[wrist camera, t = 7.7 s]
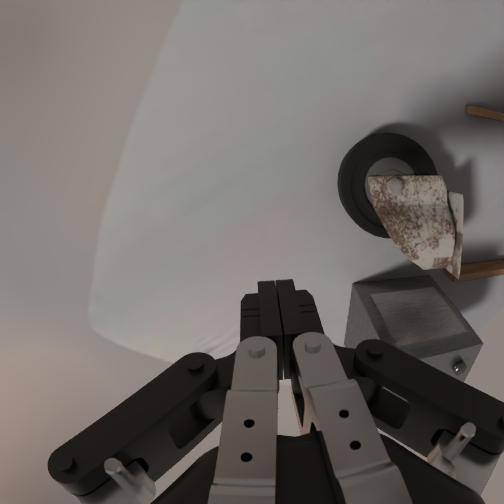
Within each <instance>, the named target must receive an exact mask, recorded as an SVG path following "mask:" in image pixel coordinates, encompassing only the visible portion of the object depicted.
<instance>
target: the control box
mask: <svg viewBox="0 0 504 504" xmlns="http://www.w3.org/2000/svg"><path fill="white" fill-rule="evenodd" d="M367 339H378V340H382V341H384V342H386V343H388V344H390V345H392V346H394V347H396V348H398V349H400V350H402V351H404V352H406V353H407V354H409V355H411V356H413V357H415V358H417V359H419V360H421V361H423V362H425V363H427V364H429V365H431V366H433V367H434V368H436V369H438V370H440V371H442V372H444V373H446V374H448V375H450V376H452V377H454V378H456V379H458V380H460V381H462V382H464V381H465V379H466V377H467V375H468V373H469V371H470V369H471V367H472V365H473V363H474V362H475V360H476V358H477V355H478V353H479V351H480V349H481V347H482V345H483V342H482V341H481V339H480V338H479V337H478V335H477V334H476V333H475V331H474V330H473V329H472V327H471V326H470V325H469V323H468V322H467V321H466V319H465V318H464V317H463V316H462V314H461V313H460V312H459V311H458V309H457V308H456V307H455V305H454V304H453V303H452V302H451V300H450V299H449V298H448V297H447V296H446V294H445V293H444V292H443V291H442V290H441V288H440V287H439V286H438V285H437V284H436V282H435V281H434V280H433V279H432V278H431V276H422V277H413V278H404V279H394V280H384V281H373V282H363V283H353V284H352V292H351V300H350V307H349V314H348V321H347V328H346V334H345V341H344V345H345V348H354V349H356V347H357V345H358V344H359V343H360V342H362V341H364V340H367ZM384 389H386V388H385V387H384ZM386 390H388V389H386ZM388 391H389V392H391V393H393V392H392V391H390V390H388ZM393 394H394V395H396V396H398V395H397V394H395V393H393ZM398 397H400V396H398ZM400 398H401V399H403V400H405V399H404V398H402V397H400ZM405 401H407V400H405ZM407 402H408V401H407Z"/></svg>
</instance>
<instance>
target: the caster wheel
mask: <svg viewBox="0 0 504 504" xmlns="http://www.w3.org/2000/svg"><path fill="white" fill-rule="evenodd" d="M338 192H339V197H340V200H341V203H342V205H343V206H344V208H345V210H346V212H347V213H348V214H349V216H350V217H351V218H352V219H353V221H354V222H355V223H356V224H357V225H358V226H360V227H361V228H362V229H364V230H365V231H367V232H369V233H371V234H372V235H374V236H378V237H382V238H388V239H389V240H390V241H391V242H393V243H394V244H395V245H396V246H398V248H399V249H400V250H401V251H402V252H403V253H404V254H405V255H406V256H407V257H408V258H409V259H410V260H411V261H413V262H414V263H415V264H417V265H418V266H419V267H420V268H422V269H423V270H428V269H440V268H445V269H447V270H448V271H449V272H450V273H451V274H453V275H454V276H455V277H456V278H457V279H459V276H460V266H461V254H462V238H463V204H464V199H463V194H459V193H455V192H451V191H447V189H446V184H445V182H444V180H443V178H442V176H441V175H437V171H436V169H435V166H434V163H433V161H432V159H431V158H430V156H429V155H428V153H427V152H426V151H425V150H424V149H423V148H422V147H421V146H420V145H419V144H418V143H416V142H415V141H414V140H412V139H410V138H408V137H406V136H403V135H399V134H394V133H383V134H377V135H373V136H371V137H368V138H366V139H364V140H362V141H360V142H358V143H357V144H355V145H354V146H353V147H352V148H351V149H350V150H349V151H348V153H347V154H346V156H345V157H344V159H343V161H342V163H341V166H340V169H339V173H338Z"/></svg>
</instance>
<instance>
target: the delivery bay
mask: <svg viewBox="0 0 504 504" xmlns="http://www.w3.org/2000/svg"><path fill="white" fill-rule="evenodd" d="M466 113H468V114H473V115H477V116H482V117H487V118H491V119H495V120H500V121H504V113H501V112H497V111H493V110H489V109H485V108H481V107H476V106H469V105H466ZM445 273H446V274H447V275H448V277H449V278H450V279H451V280H452V281H453V282H458V281H465V280H472V279H479V278H485V277H492V276H498V275H504V259H503V260H494V261H486V262H477V263H469V264H461V266H460V276H459V279H457V278H456V277H455V276H454V275H453V274H451V273H450V272H449V271H448V270H447V269H445Z"/></svg>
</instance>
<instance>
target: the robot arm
mask: <svg viewBox="0 0 504 504" xmlns="http://www.w3.org/2000/svg"><path fill="white" fill-rule="evenodd" d="M283 371H284V379H291V384H292V392H291V393H292V394H291V395H292V400H293V404H294V408H295V412H296V416H297V420H298V425H299V429H300V434H301V436H298V437H292V436H284V435H277V433H278V432H277V431H278V430H277V428H278V427H277V426H278V422H277V421H278V392H279V380H283ZM384 387H385V388H386V389H388V390H390V391H392V392H393V393H395V394H397V395H398V396H400V397H402V398H404V399H405V400H407V401H408V402H407V401H405V400H403V399H401V398H400V397H398V396H396V395H394V394H393V393H391V392H389V391H388V390H386V389H384ZM221 422H222V428H221V435H220V442H219V446H217V447H215V448H213V449H211V450H210V451H208V452H206V453H205V454H203V455H202V456H201V457H199V458H198V459H197V460H196V461H195V462H194V463H193V464H192V465H191V466H190V467H189V468H188V469H187V470H186V471H185V472H184V473H183V474H182V475H181V476H180V477H179V478H178V479H177V480H176V481H175V482H173V483H172V484H171V485H170V486H169V487H168V488H167V489H166V490H165V491H164V492H163V493H162V494H160V496H158V497H157V498H156V499H155V500H154V501H153V502H151V501H152V500H153V498H154V496H155V493H156V487H155V484H154V482H155V481H156V480H158V479H159V478H160V477H161V476H162V475H163V474H165V473H166V472H167V471H168V470H169V469H171V468H172V467H173V466H174V465H175V464H176V463H177V462H179V461H180V460H181V459H182V458H183V457H184V456H185V455H186V454H188V453H189V452H190V451H191V450H192V449H193V448H194V447H195V446H196V445H197V444H199V443H200V442H201V441H202V440H203V439H204V438H205V437H206V436H207V435H208V434H209V433H210V432H212V431H213V429H215V428H216V426H218V425H219V424H220V423H221ZM377 428H379V429H380V430H382V431H383V432H385V433H387V434H388V435H390V436H392V437H393V438H395V439H396V440H398V441H400V442H401V443H403V444H405V445H406V446H408V447H410V448H411V449H413V450H415V451H416V452H418V453H420V454H421V455H423V456H425V457H427V459H428V462H426V461H425V460H423V459H421V458H420V457H418V456H417V455H415V454H414V453H412V452H410V451H409V450H407V449H406V448H404V447H403V446H401V445H400V444H398V443H397V442H395V441H394V440H392V439H391V438H389V437H387V436H385V435H382V434H380V433H379V432H378V430H377ZM503 452H504V402H502V401H499V400H497V399H495V398H493V397H492V396H489V395H488V394H486V393H484V392H482V391H479V390H478V389H475V388H474V387H472V386H469V385H468V384H466V383H464V382H462V381H460V380H458V379H456V378H454V377H452V376H450V375H448V374H446V373H444V372H442V371H440V370H438V369H436V368H434V367H433V366H431V365H429V364H427V363H425V362H423V361H421V360H419V359H417V358H415V357H413V356H411V355H409V354H407V353H406V352H404V351H402V350H400V349H398V348H396V347H394V346H392V345H390V344H388V343H386V342H384V341H382V340H378V339H367V340H364V341H362V342H360V343H359V344H358V345H357V347H356V349H354V348H345V347H340V346H337V345H334V344H333V343H332V341H331V340H330V339H329V338H328V337H327V336H326V335H325V334H324V331H323V327H322V324H321V321H320V318H319V314H318V312H317V308H316V305H315V302H314V299H313V296H312V295H311V294H310V293H309V292H308V291H307V290H295V286H294V282H293V279H287V280H276V287H275V281H259V282H258V293H253V294H246V295H245V296H244V297H243V299H242V300H241V320H240V343H239V345H238V346H237V350H236V351H235V352H233V353H232V354H230V355H229V356H226V357H223V358H220V359H216V360H214V358H213V357H212V356H210V355H208V354H206V353H201V352H196V353H190V354H187V355H185V356H183V357H182V358H181V359H179V360H178V361H177V362H175V363H174V364H173V365H171V366H170V367H169V368H168V369H166V370H165V371H164V372H162V373H161V374H160V375H158V376H157V377H156V378H154V379H153V380H152V381H151V382H149V383H148V384H146V385H145V386H144V387H142V388H141V389H140V390H138V391H137V392H136V393H134V394H133V395H132V396H130V397H129V398H128V399H126V400H125V401H124V402H122V403H121V404H119V405H118V406H117V407H115V408H114V409H113V410H111V411H110V412H108V413H107V414H106V415H104V416H103V417H102V418H100V419H99V420H97V421H96V422H94V423H93V424H92V425H90V426H89V427H88V428H86V429H85V430H83V431H82V432H80V433H79V434H78V435H76V436H75V437H74V438H72V439H70V440H69V441H68V442H66V443H65V444H63V445H62V446H60V447H59V448H57V449H56V450H55V451H54V452H53V453H52V454H51V455H50V458H49V460H48V471H49V473H50V475H51V476H52V478H53V479H54V480H56V481H57V482H58V483H59V484H60V485H62V486H63V487H64V488H65V490H66V491H67V492H69V493H70V494H71V495H73V496H74V497H75V498H77V499H78V500H79V501H80V502H81V503H82V504H149V503H150V502H151V503H150V504H485V502H484V501H483V499H482V498H481V496H480V495H481V493H482V491H483V490H484V488H485V486H486V484H487V482H488V480H489V478H490V476H491V474H492V472H493V470H494V468H495V466H496V463H497V461H498V459H499V457H500V455H501V454H502V453H503Z"/></svg>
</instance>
